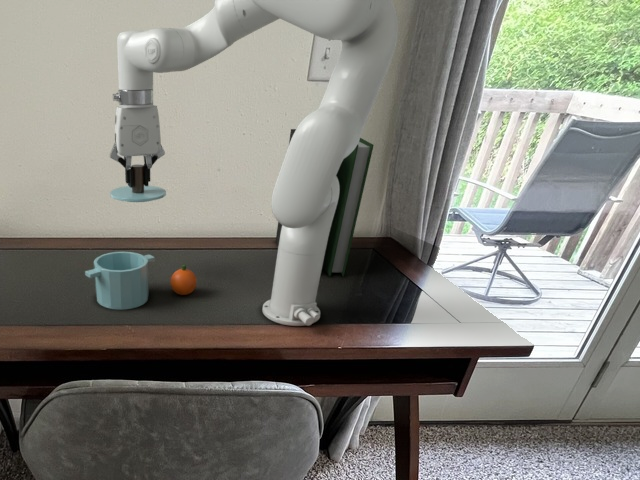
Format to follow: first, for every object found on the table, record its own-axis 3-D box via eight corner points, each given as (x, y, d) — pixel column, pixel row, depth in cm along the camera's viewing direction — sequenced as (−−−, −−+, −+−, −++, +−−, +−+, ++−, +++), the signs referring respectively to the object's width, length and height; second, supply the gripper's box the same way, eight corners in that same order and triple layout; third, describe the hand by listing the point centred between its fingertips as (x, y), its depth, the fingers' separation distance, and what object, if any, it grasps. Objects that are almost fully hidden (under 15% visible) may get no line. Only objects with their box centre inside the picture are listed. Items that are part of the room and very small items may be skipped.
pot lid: (177, 198, 114) (178, 166, 110) (130, 207, 108) (129, 174, 104) (144, 187, 124) (144, 158, 120) (100, 195, 117) (98, 164, 113)
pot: (167, 297, 116) (167, 260, 111) (103, 317, 107) (101, 278, 102) (138, 280, 125) (137, 245, 120) (77, 298, 116) (74, 261, 111)
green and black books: (346, 276, 125) (377, 144, 107) (289, 275, 126) (310, 145, 108) (321, 241, 148) (343, 128, 130) (273, 241, 149) (288, 129, 131)
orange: (199, 297, 116) (201, 268, 111) (174, 300, 114) (175, 271, 110) (191, 287, 121) (192, 259, 117) (167, 290, 119) (167, 261, 115)
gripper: (102, 101, 99) (107, 192, 109) (176, 98, 103) (175, 186, 113) (96, 99, 105) (101, 184, 116) (166, 96, 109) (165, 180, 119)
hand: (138, 185), depth 114 cm, fingers closed on pot lid, 3 cm apart
